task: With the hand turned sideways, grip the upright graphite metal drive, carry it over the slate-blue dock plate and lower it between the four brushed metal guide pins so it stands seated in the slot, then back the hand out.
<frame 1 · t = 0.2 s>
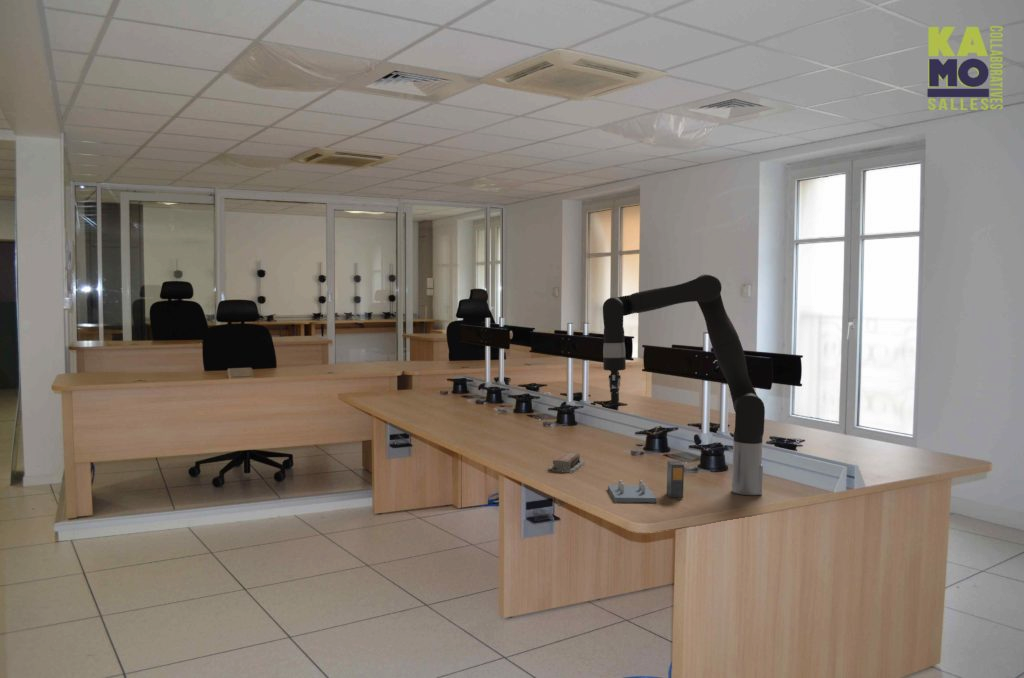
hand: (615, 403, 258), 28 cm above the table, tool pointing down, fingers open, 8 cm apart
dock: (631, 495, 246), on the table
drive: (674, 496, 246), on the table
packaged product: (567, 468, 287), on the table
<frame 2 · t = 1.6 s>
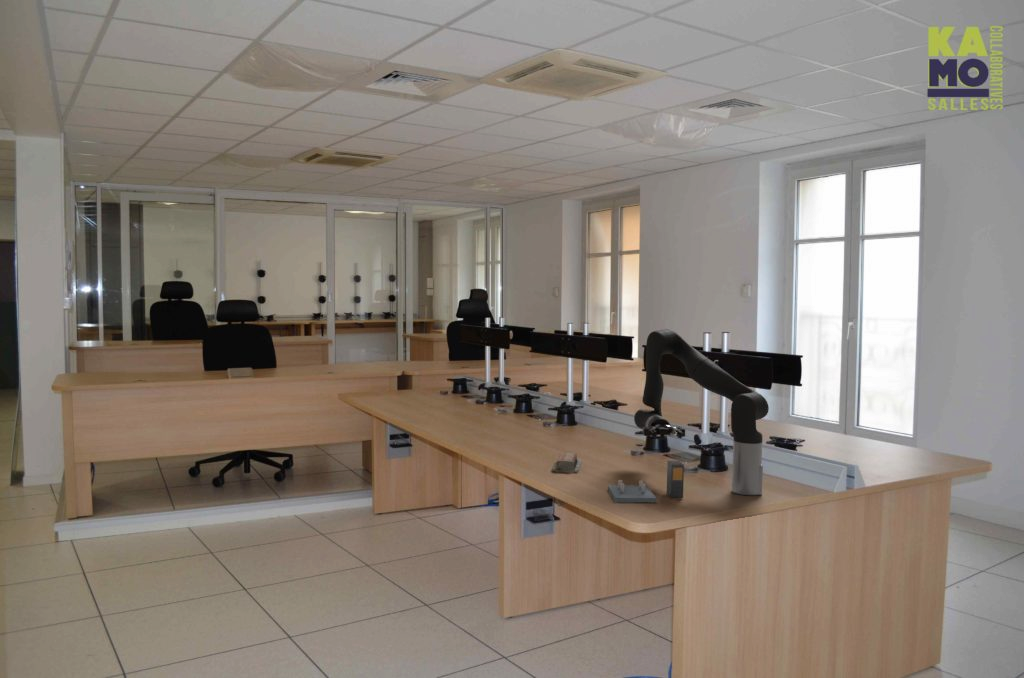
hand: (668, 435, 256), 18 cm above the table, tool horizontal, fingers open, 8 cm apart
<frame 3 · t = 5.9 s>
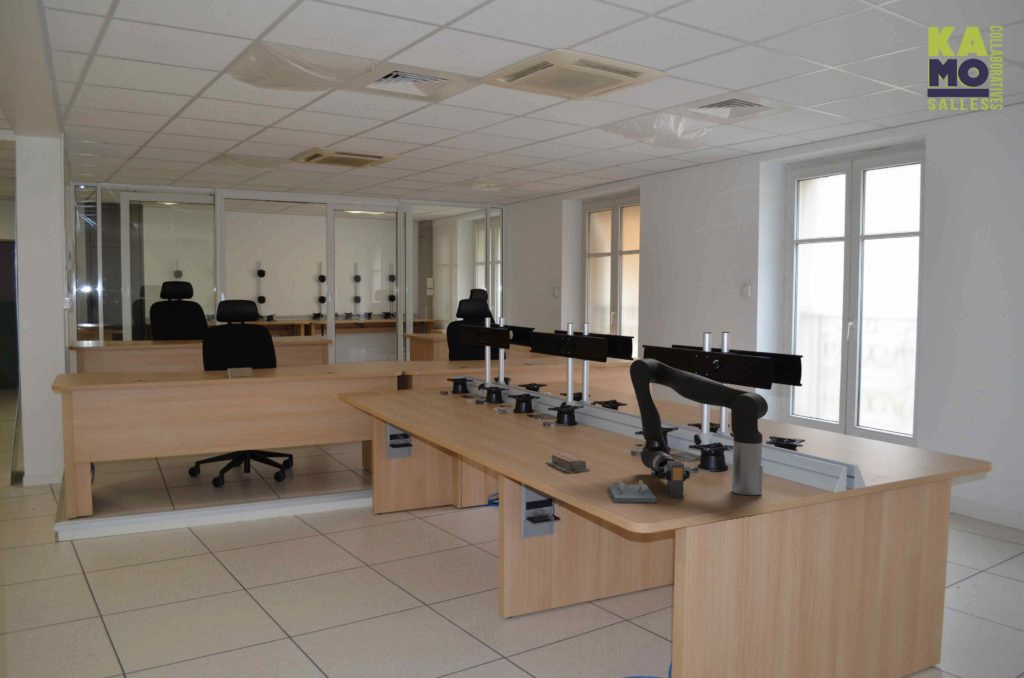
hand: (677, 477, 243), 7 cm above the table, tool horizontal, fingers closed on drive, 4 cm apart
drive: (674, 495, 246), on the table, touching gripper
when the fingers open (9 cm above the table, at t = 11.0 s): drive drops 1 cm, resting on dock.
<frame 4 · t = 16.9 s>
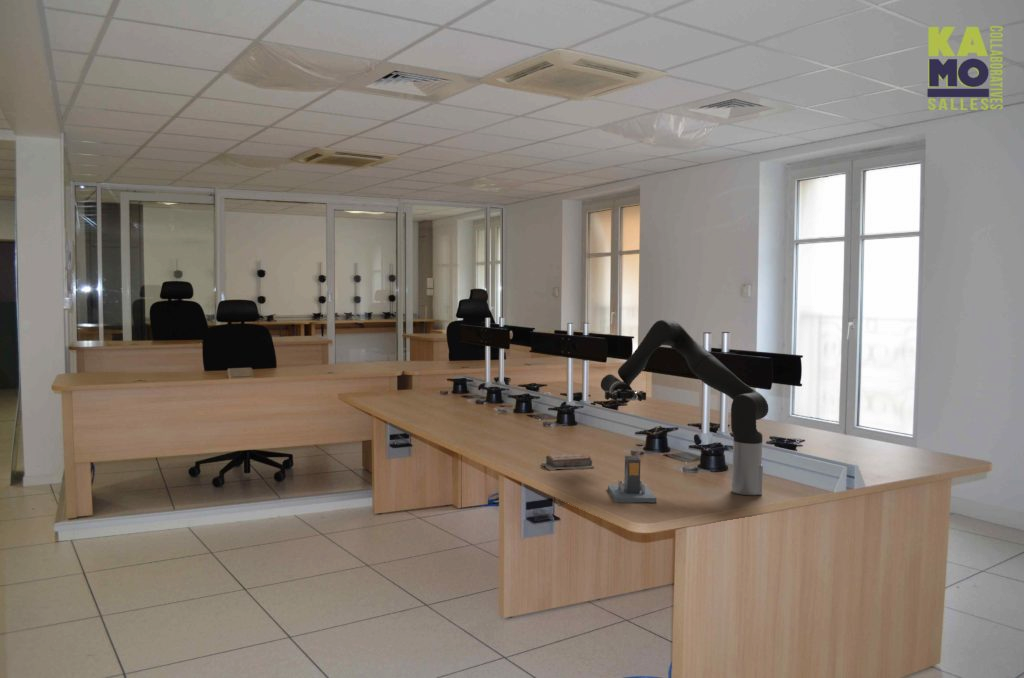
hand: (628, 397, 260), 30 cm above the table, tool horizontal, fingers open, 8 cm apart
drive: (631, 491, 246), point 1 cm above the table, touching dock
at the end: drive 0.1 cm off-centre on the dock, point 1.5 cm above the dock's base; drive tilted 0°; the gripper is holding nothing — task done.
